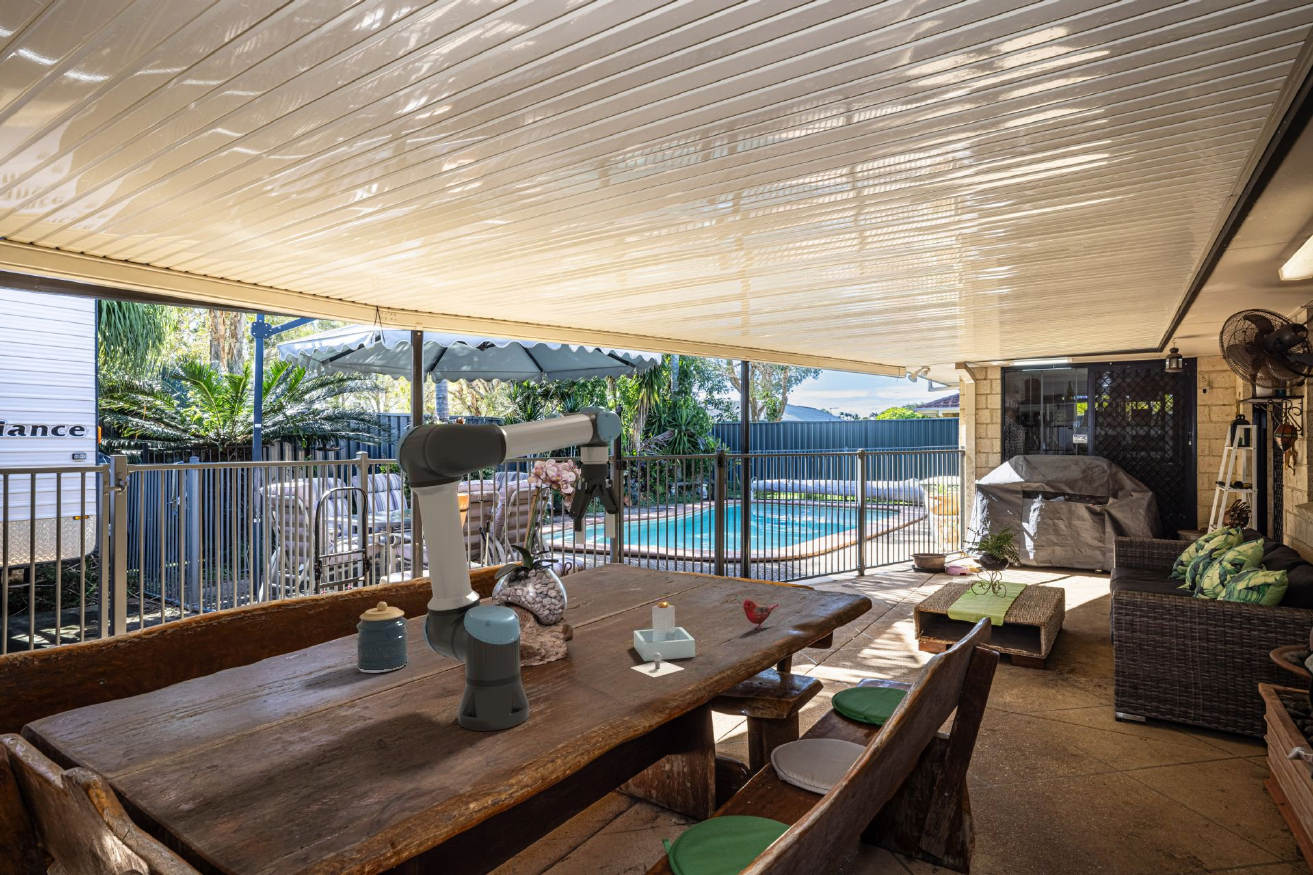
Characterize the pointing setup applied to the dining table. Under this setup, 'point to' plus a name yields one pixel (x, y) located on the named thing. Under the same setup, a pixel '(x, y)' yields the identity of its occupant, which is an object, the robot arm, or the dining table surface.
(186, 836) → the dining table surface
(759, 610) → the decorative bird figurine
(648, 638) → the bin
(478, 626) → the robot arm
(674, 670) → the stud base
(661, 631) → the strut
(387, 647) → the canister
